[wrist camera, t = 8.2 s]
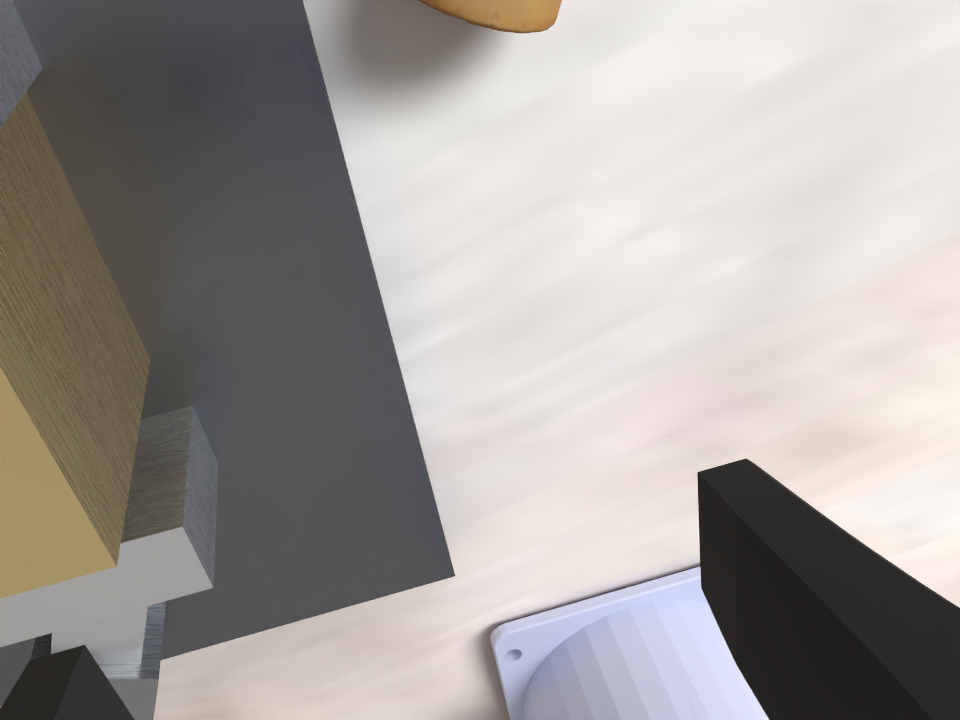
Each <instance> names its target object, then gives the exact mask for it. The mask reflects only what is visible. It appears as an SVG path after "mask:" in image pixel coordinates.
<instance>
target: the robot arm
mask: <svg viewBox="0 0 960 720" xmlns="http://www.w3.org/2000/svg"><path fill="white" fill-rule="evenodd" d="M698 503H699V536H700V567H696V568H693V569H689V570H686V571H682V572H679V573H675V574H672V575H669V576H665V577H662V578H658V579H655V580H651V581H648V582H645V583H641V584H638V585H634V586H631V587H627V588H624V589H621V590H617V591H614V592H610V593H607V594H603V595H600V596H597V597H593V598H590V599H586V600H583V601H579V602H576V603H572V604H569V605H566V606H562V607H559V608H555V609H552V610H548V611H545V612H542V613H538V614H535V615H531V616H528V617H524V618H521V619H518V620H514V621H511V622H507V623H504V624H502V625H500V626H498V627H497V628H496V629H494V630H493V632H492V634H491V638H490V640H491V644H492V648H493V652H494V656H495V660H496V664H497V669H498V673H499V677H500V681H501V685H502V689H503V693H504V697H505V701H506V705H507V709H508V713H509V717H510V720H960V608H959V607H957V606H956V605H954V604H953V603H951V602H950V601H948V600H946V599H945V598H943V597H942V596H940V595H939V594H937V593H936V592H934V591H933V590H931V589H929V588H928V587H926V586H925V585H923V584H922V583H920V582H919V581H917V580H916V579H914V578H913V577H911V576H910V575H908V574H907V573H906V572H904V571H903V570H901V569H900V568H898V567H897V566H895V565H894V564H892V563H891V562H889V561H888V560H886V559H885V558H883V557H882V556H880V555H879V554H877V553H876V552H875V551H873V550H872V549H870V548H869V547H867V546H866V545H864V544H863V543H862V542H860V541H859V540H857V539H856V538H855V537H853V536H852V535H850V534H849V533H847V532H846V531H845V530H843V529H842V528H841V527H839V526H838V525H836V524H835V523H834V522H832V521H831V520H830V519H828V518H827V517H825V516H824V515H823V514H821V513H820V512H819V511H817V510H816V509H814V508H813V507H812V506H810V505H809V504H808V503H806V502H805V501H804V500H802V499H801V498H800V497H798V496H797V495H796V494H794V493H793V492H792V491H790V490H789V489H788V488H786V487H785V486H784V485H782V484H781V483H780V482H778V481H777V480H776V479H774V478H773V477H772V476H770V475H769V474H768V473H766V472H765V471H764V470H762V469H761V468H760V467H758V466H757V465H756V464H754V463H753V462H751V461H749V460H748V459H743V460H739V461H736V462H732V463H729V464H725V465H722V466H718V467H715V468H711V469H707V470H704V471H700V472H698ZM0 720H135V719H134V718H133V716H132V715H131V713H130V712H129V710H128V709H127V707H126V706H125V704H124V703H123V701H122V700H121V698H120V697H119V695H118V694H117V692H116V691H115V689H114V688H113V686H112V685H111V683H110V682H109V680H108V679H107V677H106V676H105V674H104V673H103V671H102V670H101V668H100V667H99V665H98V664H97V662H96V661H95V659H94V658H93V656H92V655H91V653H90V652H89V650H88V649H87V647H86V646H85V645H82V646H78V647H75V648H71V649H68V650H64V651H61V652H57V653H54V654H50V655H46V656H43V657H39V658H36V659H32V660H30V661H29V662H28V664H27V666H26V667H25V669H24V671H23V672H22V674H21V675H20V677H19V679H18V680H17V682H16V683H15V685H14V687H13V688H12V690H11V692H10V693H9V695H8V697H7V698H6V700H5V702H4V703H3V705H2V707H1V708H0Z"/></svg>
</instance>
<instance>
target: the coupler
mask: <svg viewBox="0 0 960 720" xmlns="http://www.w3.org/2000/svg"><path fill="white" fill-rule="evenodd" d="M149 366H150V359H149V357H148V354H147V352H146V350H145V348H144V346H143V344H142V341H141V339H140V337H139V335H138V333H137V331H136V328H135V326H134V324H133V322H132V320H131V318H130V315H129V313H128V311H127V309H126V307H125V305H124V302H123V300H122V298H121V296H120V294H119V292H118V289H117V287H116V285H115V283H114V281H113V279H112V276H111V274H110V272H109V270H108V268H107V266H106V263H105V261H104V259H103V257H102V255H101V253H100V250H99V248H98V246H97V244H96V242H95V240H94V237H93V235H92V233H91V231H90V229H89V227H88V224H87V222H86V220H85V218H84V216H83V214H82V211H81V209H80V207H79V205H78V203H77V201H76V198H75V196H74V194H73V192H72V190H71V187H70V185H69V183H68V181H67V179H66V177H65V174H64V172H63V170H62V168H61V166H60V164H59V161H58V159H57V157H56V155H55V153H54V151H53V148H52V146H51V144H50V142H49V140H48V138H47V135H46V133H45V131H44V129H43V127H42V125H41V122H40V120H39V118H38V116H37V114H36V112H35V109H34V107H33V105H32V103H31V101H30V99H29V96H28V94H27V92H26V93H25V94H24V96H23V97H22V99H21V100H20V101H19V103H18V104H17V106H16V107H15V109H14V110H13V111H12V113H11V114H10V116H9V117H8V119H7V120H6V121H5V123H4V124H3V126H2V127H1V129H0V598H4V597H8V596H11V595H15V594H19V593H22V592H26V591H30V590H33V589H37V588H41V587H44V586H48V585H51V584H55V583H59V582H62V581H66V580H70V579H73V578H77V577H81V576H84V575H88V574H92V573H95V572H99V571H102V570H106V569H110V568H113V567H117V562H118V556H119V550H120V544H121V538H122V532H123V526H124V519H125V513H126V507H127V501H128V495H129V489H130V483H131V477H132V470H133V464H134V458H135V452H136V446H137V440H138V434H139V427H140V421H141V415H142V409H143V403H144V397H145V391H146V385H147V378H148V372H149Z"/></svg>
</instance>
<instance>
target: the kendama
mask: <svg viewBox="0 0 960 720" xmlns="http://www.w3.org/2000/svg"><path fill="white" fill-rule="evenodd" d="M419 1H421V2H423V3H424V4H426V5H428V6H430V7H432V8H434V9H436V10H438V11H440V12H443V13H445V14H447V15H450V16H453V17H456V18H459V19H462V20H465V21H467V22H468V23H470V24H474V25H478V26H482V27H486V28H491V29H495V30H498V31H504V32H514V33H531V32H540V31H544V30H547V29H548V28H550V27H551V26H552V25H554V23H555V21H556V19H557V15H558V12H559V8H560V5H561V1H562V0H419Z"/></svg>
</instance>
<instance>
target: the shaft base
mask: <svg viewBox="0 0 960 720" xmlns="http://www.w3.org/2000/svg"><path fill="white" fill-rule="evenodd" d="M26 92H27V94H28V96H29V99H30V101H31V103H32V105H33V107H34V109H35V112H36V114H37V116H38V118H39V120H40V122H41V125H42V127H43V129H44V131H45V133H46V135H47V138H48V140H49V142H50V144H51V146H52V148H53V151H54V153H55V155H56V157H57V159H58V161H59V164H60V166H61V168H62V170H63V172H64V174H65V177H66V179H67V181H68V183H69V185H70V187H71V190H72V192H73V194H74V196H75V198H76V201H77V203H78V205H79V207H80V209H81V211H82V214H83V216H84V218H85V220H86V222H87V224H88V227H89V229H90V231H91V233H92V235H93V237H94V240H95V242H96V244H97V246H98V248H99V250H100V253H101V255H102V257H103V259H104V261H105V263H106V266H107V268H108V270H109V272H110V274H111V276H112V279H113V281H114V283H115V285H116V287H117V289H118V292H119V294H120V296H121V298H122V300H123V302H124V305H125V307H126V309H127V311H128V313H129V315H130V318H131V320H132V322H133V324H134V326H135V328H136V331H137V333H138V335H139V337H140V339H141V341H142V344H143V346H144V348H145V350H146V352H147V354H148V357H149V359H150V366H149V372H148V378H147V385H146V391H145V397H144V403H143V409H142V415H141V421H140V427H139V434H138V440H137V446H136V452H135V458H134V464H133V470H132V477H131V483H130V489H129V495H128V501H127V507H126V513H125V519H124V526H123V532H122V538H121V544H120V550H119V556H118V562H117V567H113V568H110V569H106V570H102V571H99V572H95V573H92V574H88V575H84V576H81V577H77V578H73V579H70V580H66V581H62V582H59V583H55V584H51V585H48V586H44V587H41V588H37V589H33V590H30V591H26V592H22V593H19V594H15V595H11V596H8V597H4V598H0V706H1V705H3V703H4V702H5V700H6V698H7V697H8V695H9V693H10V692H11V690H12V688H13V687H14V685H15V683H16V682H17V680H18V679H19V677H20V675H21V674H22V672H23V671H24V669H25V667H26V666H27V664H28V662H29V661H30V660H32V659H36V658H39V657H43V656H46V655H50V654H54V653H57V652H61V651H64V650H68V649H71V648H75V647H78V646H82V645H85V646H86V647H87V649H88V650H89V652H90V653H91V655H92V656H93V658H94V659H95V661H96V662H97V664H98V665H99V667H100V668H101V670H102V671H103V673H104V674H105V676H106V677H107V679H108V680H109V682H110V683H111V685H112V686H113V688H114V689H115V691H116V692H117V694H118V695H119V697H120V698H121V700H122V701H123V703H124V704H125V706H126V707H127V709H128V710H129V712H130V713H131V715H132V716H133V718H134V719H135V720H153V717H154V709H155V702H156V694H157V687H158V679H159V669H160V660H162V659H166V658H169V657H173V656H176V655H180V654H183V653H187V652H190V651H194V650H198V649H201V648H205V647H208V646H212V645H215V644H219V643H222V642H226V641H229V640H233V639H236V638H240V637H243V636H247V635H250V634H254V633H257V632H261V631H264V630H268V629H271V628H275V627H278V626H282V625H285V624H289V623H292V622H296V621H299V620H303V619H306V618H310V617H313V616H317V615H320V614H324V613H327V612H331V611H334V610H338V609H341V608H345V607H348V606H352V605H355V604H359V603H362V602H366V601H369V600H373V599H376V598H380V597H383V596H387V595H390V594H394V593H397V592H401V591H405V590H408V589H412V588H415V587H419V586H422V585H426V584H429V583H433V582H436V581H440V580H443V579H447V578H450V577H454V576H455V574H454V570H453V566H452V562H451V559H450V555H449V551H448V547H447V543H446V540H445V536H444V532H443V528H442V525H441V521H440V517H439V513H438V509H437V506H436V502H435V498H434V494H433V491H432V487H431V483H430V479H429V476H428V472H427V468H426V464H425V460H424V457H423V453H422V449H421V445H420V442H419V438H418V434H417V430H416V426H415V423H414V419H413V415H412V411H411V408H410V404H409V400H408V396H407V393H406V389H405V385H404V381H403V377H402V374H401V370H400V366H399V362H398V359H397V355H396V351H395V347H394V343H393V340H392V336H391V332H390V328H389V325H388V321H387V317H386V313H385V310H384V306H383V302H382V298H381V294H380V291H379V287H378V283H377V279H376V276H375V272H374V268H373V264H372V261H371V257H370V253H369V249H368V245H367V242H366V238H365V234H364V230H363V227H362V223H361V219H360V215H359V211H358V208H357V204H356V200H355V196H354V193H353V189H352V185H351V181H350V178H349V174H348V170H347V166H346V162H345V159H344V155H343V151H342V147H341V144H340V140H339V136H338V132H337V128H336V125H335V121H334V117H333V113H332V110H331V106H330V102H329V98H328V95H327V91H326V87H325V83H324V79H323V76H322V72H321V68H320V64H319V61H318V57H317V53H316V49H315V46H314V42H313V38H312V34H311V30H310V27H309V23H308V19H307V15H306V12H305V8H304V4H303V0H0V129H1V127H2V126H3V124H4V123H5V121H6V120H7V119H8V117H9V116H10V114H11V113H12V111H13V110H14V109H15V107H16V106H17V104H18V103H19V101H20V100H21V99H22V97H23V96H24V94H25V93H26Z"/></svg>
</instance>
